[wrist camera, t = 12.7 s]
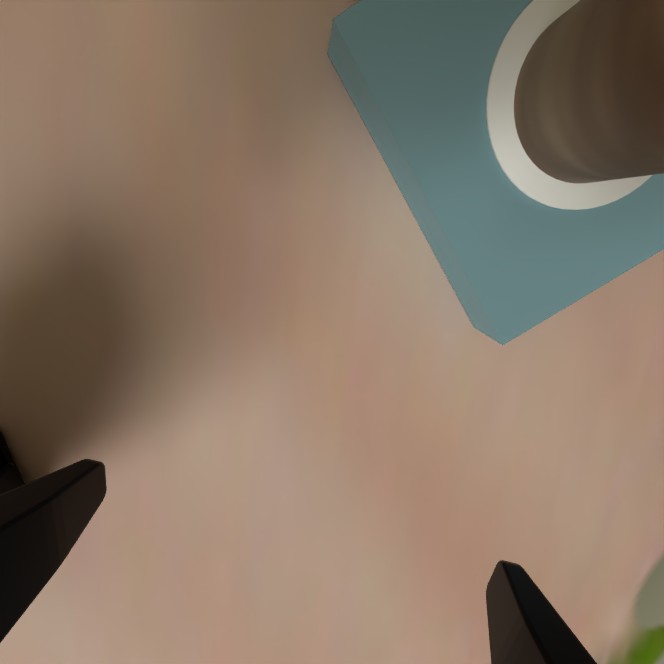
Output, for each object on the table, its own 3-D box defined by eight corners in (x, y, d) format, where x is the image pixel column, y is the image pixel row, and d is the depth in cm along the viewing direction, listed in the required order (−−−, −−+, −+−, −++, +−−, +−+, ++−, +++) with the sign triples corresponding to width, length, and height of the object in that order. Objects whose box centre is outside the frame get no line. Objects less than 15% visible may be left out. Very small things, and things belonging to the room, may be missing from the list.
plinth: (473, 327, 20) (505, 346, 17) (327, 54, 17) (333, 16, 13) (729, 172, 19) (810, 164, 16) (634, -158, 15) (716, -253, 12)
